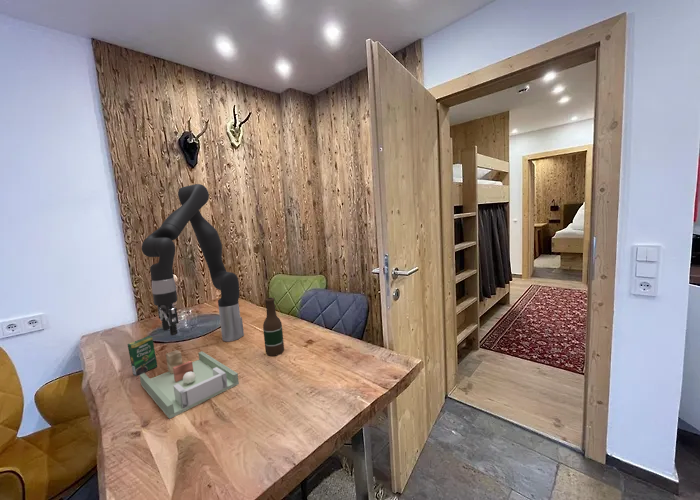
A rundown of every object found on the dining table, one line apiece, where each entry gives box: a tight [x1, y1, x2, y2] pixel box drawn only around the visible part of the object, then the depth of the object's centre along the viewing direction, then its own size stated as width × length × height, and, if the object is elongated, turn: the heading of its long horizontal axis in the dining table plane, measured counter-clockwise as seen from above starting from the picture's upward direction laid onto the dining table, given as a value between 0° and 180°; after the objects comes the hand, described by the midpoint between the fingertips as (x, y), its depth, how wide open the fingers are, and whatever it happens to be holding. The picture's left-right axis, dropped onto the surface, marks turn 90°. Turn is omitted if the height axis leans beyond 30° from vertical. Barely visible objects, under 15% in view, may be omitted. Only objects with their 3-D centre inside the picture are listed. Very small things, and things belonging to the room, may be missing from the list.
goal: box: [173, 367, 228, 409], centre depth 97 cm, size 14×7×5 cm, turn 139°
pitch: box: [139, 350, 240, 420], centre depth 104 cm, size 22×30×4 cm
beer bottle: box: [262, 297, 285, 357], centre depth 124 cm, size 8×8×24 cm
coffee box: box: [127, 335, 158, 377], centre depth 116 cm, size 8×3×13 cm, turn 150°
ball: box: [183, 372, 196, 384], centre depth 104 cm, size 4×4×4 cm
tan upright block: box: [165, 349, 193, 382], centre depth 110 cm, size 6×12×7 cm, turn 49°
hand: (170, 332), depth 111 cm, fingers open, 8 cm apart
